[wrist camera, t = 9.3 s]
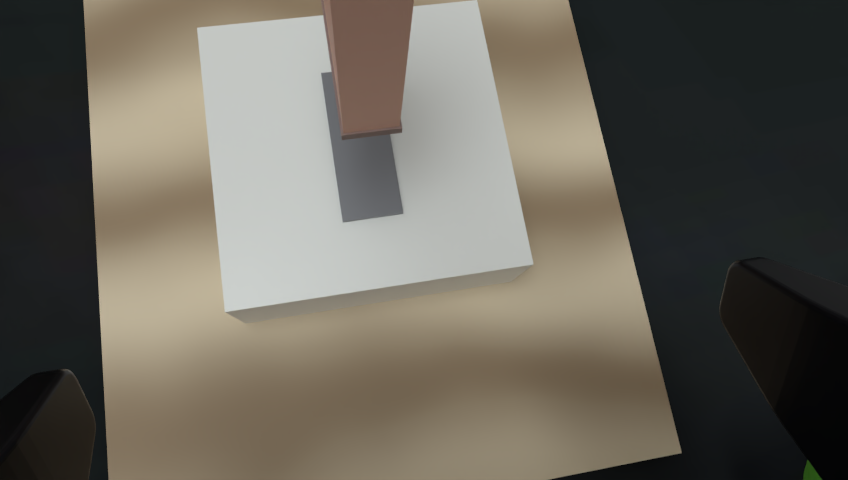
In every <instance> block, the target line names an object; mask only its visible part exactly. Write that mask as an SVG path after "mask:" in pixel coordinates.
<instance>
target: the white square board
mask: <svg viewBox="0 0 848 480" xmlns="http://www.w3.org/2000/svg"><path fill="white" fill-rule="evenodd" d="M197 33H198V43H199V53H200V64H201V74H202V84H203V94H204V104H205V115H206V125H207V135H208V145H209V156H210V166H211V176H212V186H213V196H214V207H215V217H216V227H217V237H218V247H219V258H220V268H221V278H222V288H223V298H224V309H225V312H226V313H227V314H229V315H231V316H233V317H235V318H236V319H238V320H240V321H242V322H244V323H252V322H259V321H265V320H271V319H278V318H284V317H290V316H297V315H303V314H309V313H316V312H322V311H328V310H335V309H341V308H348V307H354V306H360V305H367V304H373V303H379V302H386V301H392V300H398V299H405V298H411V297H417V296H424V295H430V294H436V293H443V292H449V291H455V290H462V289H468V288H475V287H481V286H487V285H494V284H500V283H506V282H512V281H513V280H514V279H515V278H517V277H518V276H519V275H521V274H522V273H523V272H524V271H526V270H527V269H528V268H530V267H531V266H532V265H533V259H532V255H531V250H530V245H529V240H528V236H527V231H526V226H525V222H524V217H523V212H522V208H521V203H520V198H519V194H518V189H517V184H516V180H515V175H514V170H513V166H512V161H511V156H510V152H509V147H508V142H507V138H506V133H505V128H504V124H503V119H502V114H501V109H500V105H499V100H498V95H497V91H496V86H495V81H494V77H493V72H492V67H491V63H490V58H489V53H488V49H487V44H486V39H485V35H484V30H483V25H482V21H481V16H480V11H479V7H478V2H477V0H472V1H462V2H451V3H441V4H431V5H421V6H413V14H412V22H411V31H410V40H409V49H408V58H407V66H406V75H405V84H404V93H403V102H402V110H401V123H402V133H396V134H388V135H380V136H372V137H364V138H356V139H348V140H342V138H341V131H340V124H339V118H338V111H337V104H336V98H335V91H334V84H333V78H332V71H331V64H330V58H329V51H328V44H327V38H326V31H325V24H324V18H323V15H320V16H310V17H300V18H290V19H280V20H270V21H260V22H250V23H239V24H229V25H219V26H209V27H199V28H197Z"/></svg>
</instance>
